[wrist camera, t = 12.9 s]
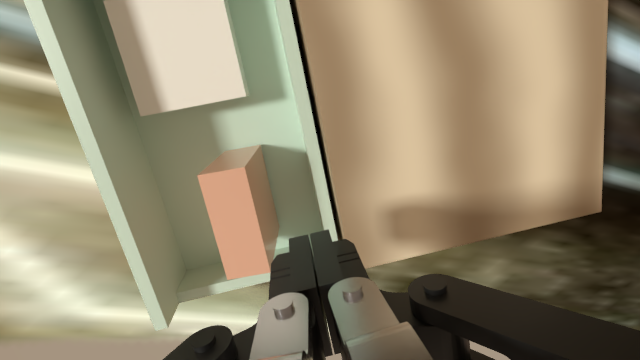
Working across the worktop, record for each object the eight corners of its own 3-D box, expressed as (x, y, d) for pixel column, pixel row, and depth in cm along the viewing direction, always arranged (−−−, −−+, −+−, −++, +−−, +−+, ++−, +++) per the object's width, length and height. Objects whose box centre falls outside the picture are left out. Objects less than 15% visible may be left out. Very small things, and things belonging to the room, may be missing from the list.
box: (275, -45, 18) (274, -91, 13) (334, 240, 22) (349, 283, 17) (81, -8, 17) (6, -43, 12) (182, 276, 22) (155, 331, 17)
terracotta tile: (244, 166, 15) (197, 175, 15) (270, 272, 16) (227, 279, 16) (260, 144, 19) (224, 151, 19) (279, 227, 21) (246, 233, 21)
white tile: (102, 0, 15) (122, 9, 17) (140, 116, 17) (154, 113, 19) (219, -19, 15) (225, -8, 17) (246, 96, 17) (249, 94, 19)
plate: (543, -95, 19) (612, -141, 15) (547, 189, 23) (601, 211, 19) (281, -45, 18) (282, -81, 14) (338, 239, 22) (351, 271, 18)
